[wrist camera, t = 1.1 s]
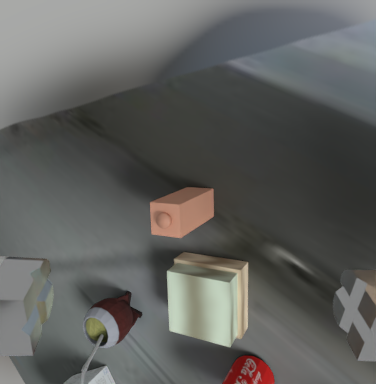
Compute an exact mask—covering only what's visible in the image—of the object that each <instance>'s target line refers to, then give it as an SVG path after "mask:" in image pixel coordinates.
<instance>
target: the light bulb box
mask: <svg viewBox="0 0 376 384" xmlns="http://www.w3.org/2000/svg"><path fill="white" fill-rule="evenodd" d="M80 378H81V373H79V374H76V375H73V376H72V377H70V378H69V379H68V380H67V381H66V382H65V383H64V384H80ZM84 384H116V383H115V381H114V379H113V377H112V375H111V373H110V371H109V369H108V367H107V366H103V367H100V368H96V369H93V370H89V371H87V372H86V373H85V377H84Z"/></svg>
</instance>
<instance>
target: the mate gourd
mask: <svg viewBox="0 0 376 384" xmlns="http://www.w3.org/2000/svg"><path fill="white" fill-rule="evenodd" d="M130 299H131V292H129V291H128V292H126V295H124V296H121V297H119V298H107V299H104V300H102V301H100V302H98V303H96V304H94V305H93V306H92V307H91V308H90V310H88V312H87V314H86V315H85V318H84V322H83V330H84V334H85V336H86V338H87V339H88V340H89V341H90V343H91V344H93V345H95V347H94V349H93V350H92V352H91V354H90V356H89V358H88V359H87V361H86V363H85V364H84V365H83V367H82V370H81V378H80V384H84V377H85V373H86V372H87V369H88V367H89V364H90V362H91V360H92V358H93V356H94V354H95V352H96V351H97V349H98V347H101V348H109V347H112V346H114V345H115V344H117V343H119V342H120V341H122V340H123V338H124V337H125V336H126V335H127V333H128V332H129V331H130V329H131V327H132V326H133V325H134V324H135V322H136V320H137V318H138V317H139V318H141V316H142V312H140V311H138V310H136V309H134V308H132V307H130Z"/></svg>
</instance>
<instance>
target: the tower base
mask: <svg viewBox="0 0 376 384" xmlns="http://www.w3.org/2000/svg"><path fill="white" fill-rule="evenodd" d="M167 287H168V309H169V331H172V332H175V333H179V334H183V335H186V336H190V337H194V338H197V339H201V340H205V341H208V342H212V343H216V344H219V345H223V346H227V347H231V345H232V343H233V342H234V340H235V338H239V339H241V338H242V337H243V335H244V333H245V332H246V330H247V328H248V262H245V261H239V260H232V259H226V258H219V257H213V256H207V255H200V254H194V253H187V252H183V253H182V254H180V255H179V256H178V257H176V258H175V259H174V266H173V267H171V268H170V269H169V270H167Z"/></svg>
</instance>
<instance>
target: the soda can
mask: <svg viewBox="0 0 376 384" xmlns="http://www.w3.org/2000/svg"><path fill="white" fill-rule="evenodd" d="M274 382H275V381H274V376H273V373H272V371H271V370H270V368H269V366H268V365H267V364H266V363H264V362H263V361H262V360H261V359H259V358H256V357H254V356H247V355H244V356H241V357H239V358H237V359H236V361H235V362H234V363H233V365H232V367H231V369H230V370H229V372H228V374H227V376H226V378H225V379H224V381H223V383H222V384H274Z"/></svg>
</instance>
